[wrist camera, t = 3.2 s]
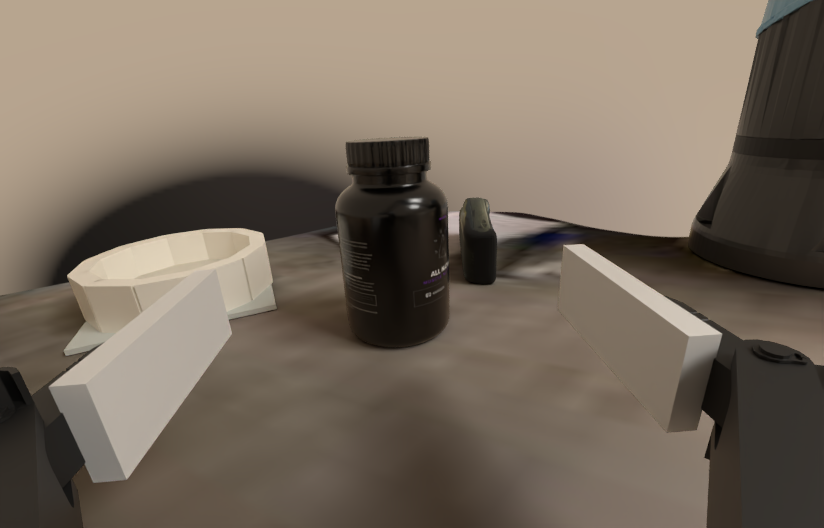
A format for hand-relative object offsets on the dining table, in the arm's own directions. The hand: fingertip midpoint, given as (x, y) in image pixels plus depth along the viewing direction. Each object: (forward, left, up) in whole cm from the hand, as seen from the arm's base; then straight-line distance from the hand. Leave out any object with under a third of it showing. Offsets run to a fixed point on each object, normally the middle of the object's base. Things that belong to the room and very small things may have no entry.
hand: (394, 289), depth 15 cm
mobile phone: (-15, -18, -7) cm, 25 cm away
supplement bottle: (-3, -9, -7) cm, 12 cm away
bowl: (+11, -22, -7) cm, 25 cm away
